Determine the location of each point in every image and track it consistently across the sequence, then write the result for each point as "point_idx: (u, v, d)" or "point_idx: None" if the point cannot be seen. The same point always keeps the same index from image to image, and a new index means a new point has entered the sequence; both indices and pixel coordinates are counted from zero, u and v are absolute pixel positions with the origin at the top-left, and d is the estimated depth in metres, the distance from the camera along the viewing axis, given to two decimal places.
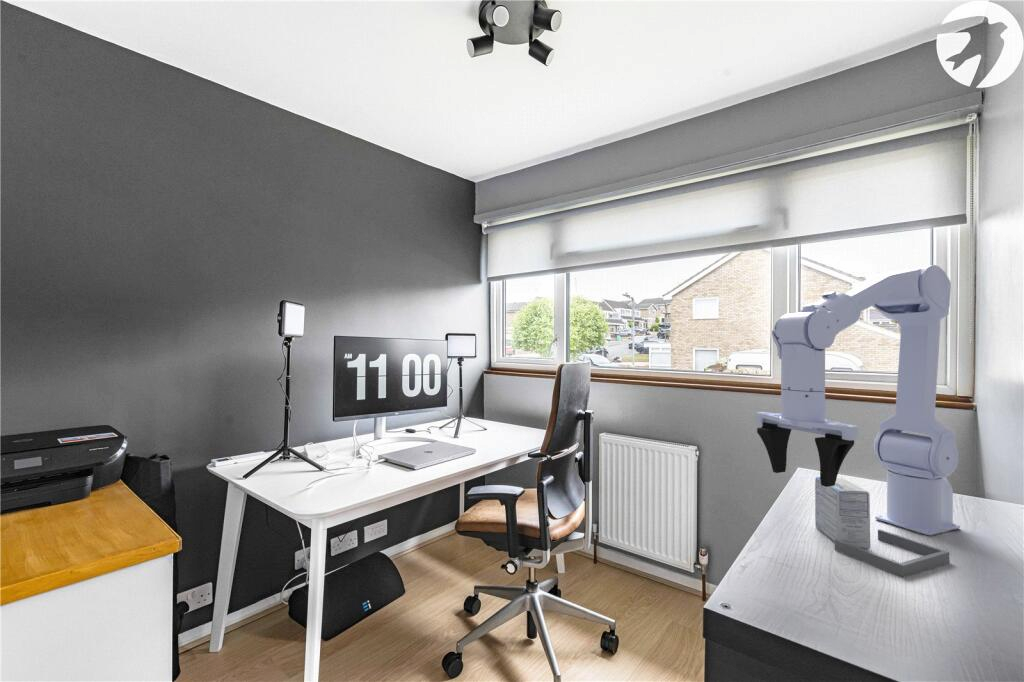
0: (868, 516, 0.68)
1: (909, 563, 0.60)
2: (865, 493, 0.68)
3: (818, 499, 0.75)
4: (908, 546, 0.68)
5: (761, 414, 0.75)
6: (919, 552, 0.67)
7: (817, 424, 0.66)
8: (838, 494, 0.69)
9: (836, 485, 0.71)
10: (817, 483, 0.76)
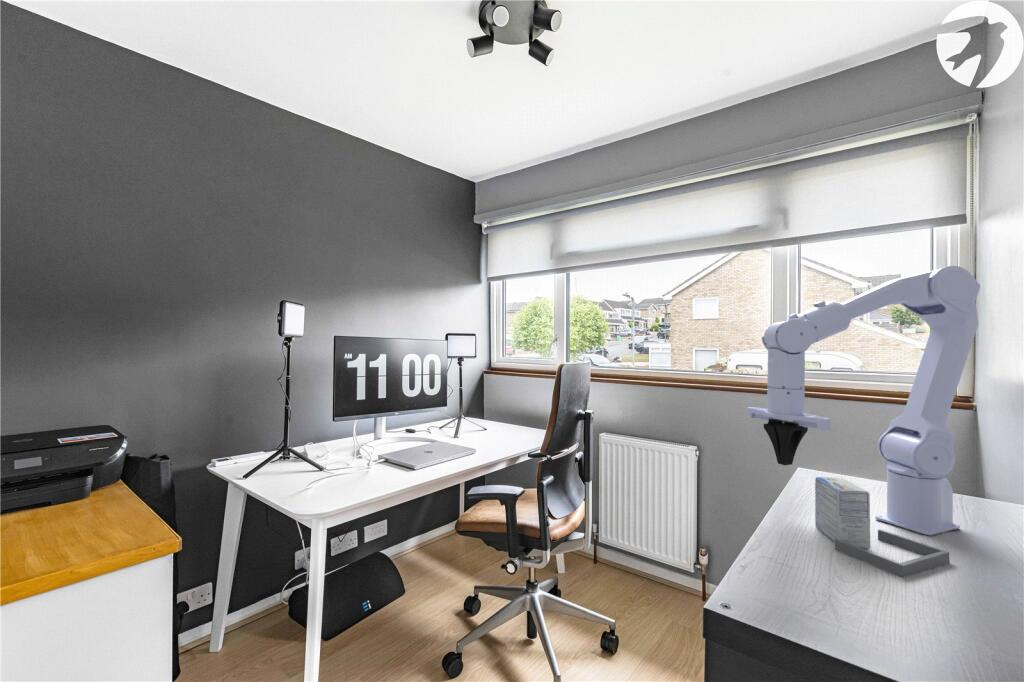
0: (868, 516, 0.68)
1: (909, 563, 0.60)
2: (865, 493, 0.68)
3: (818, 499, 0.75)
4: (908, 546, 0.68)
5: (750, 409, 0.86)
6: (919, 552, 0.67)
7: (797, 417, 0.77)
8: (838, 494, 0.69)
9: (836, 485, 0.71)
10: (817, 483, 0.76)
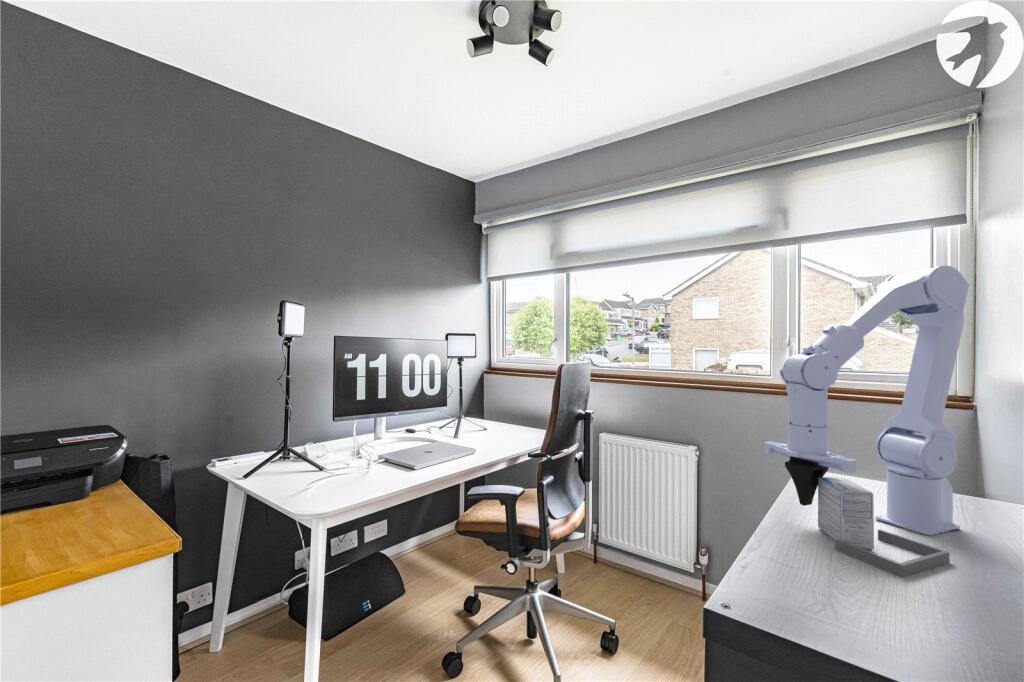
0: (872, 517, 0.67)
1: (909, 563, 0.60)
2: (869, 494, 0.68)
3: (821, 499, 0.75)
4: (908, 546, 0.68)
5: (769, 444, 0.83)
6: (919, 552, 0.67)
7: (819, 457, 0.73)
8: (842, 495, 0.68)
9: (839, 485, 0.71)
10: (820, 483, 0.75)
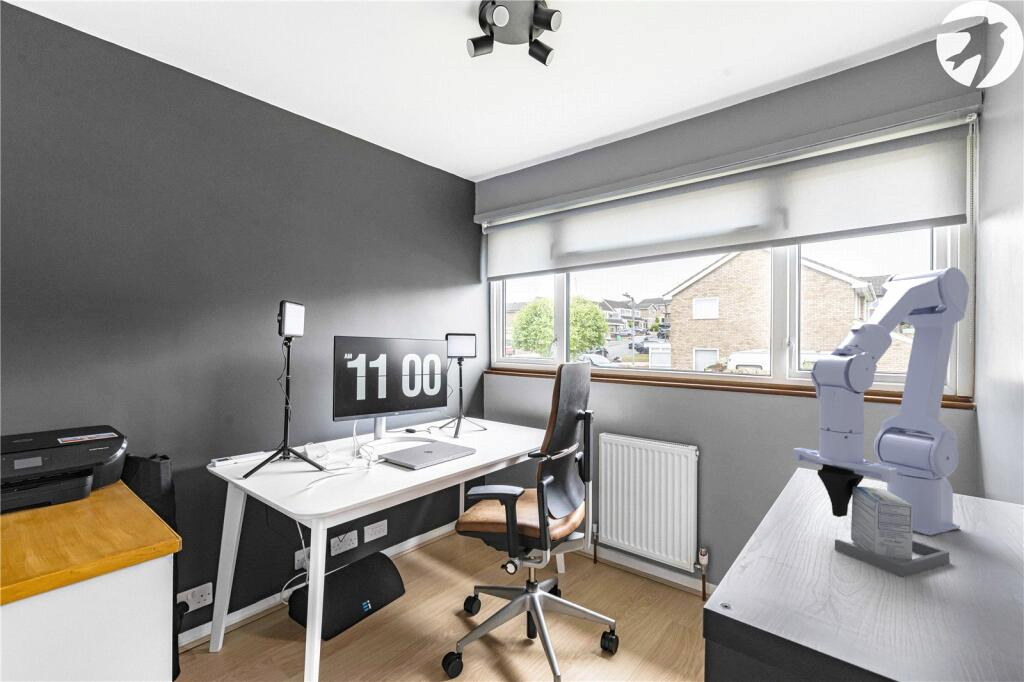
0: (910, 531, 0.62)
1: (909, 563, 0.60)
2: (908, 506, 0.63)
3: (855, 510, 0.70)
4: None
5: (798, 450, 0.78)
6: (919, 552, 0.67)
7: (857, 465, 0.68)
8: (877, 506, 0.63)
9: (875, 496, 0.66)
10: (854, 492, 0.70)
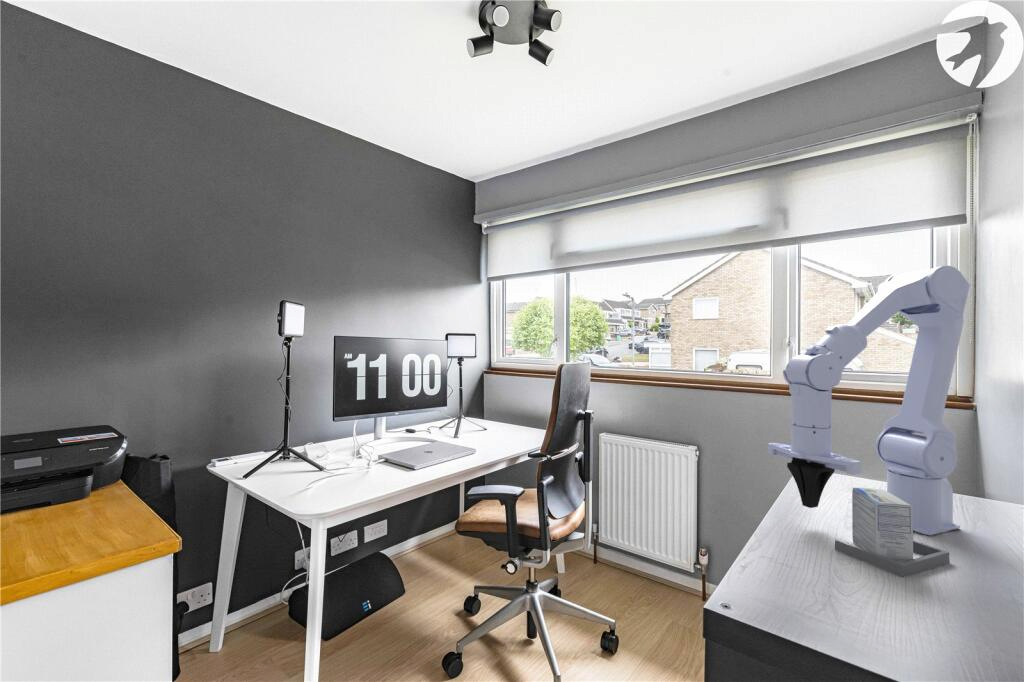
0: (911, 532, 0.62)
1: (909, 563, 0.60)
2: (907, 507, 0.62)
3: (855, 511, 0.69)
4: None
5: (772, 445, 0.82)
6: (919, 552, 0.67)
7: (824, 458, 0.73)
8: (876, 507, 0.63)
9: (875, 497, 0.66)
10: (854, 494, 0.70)
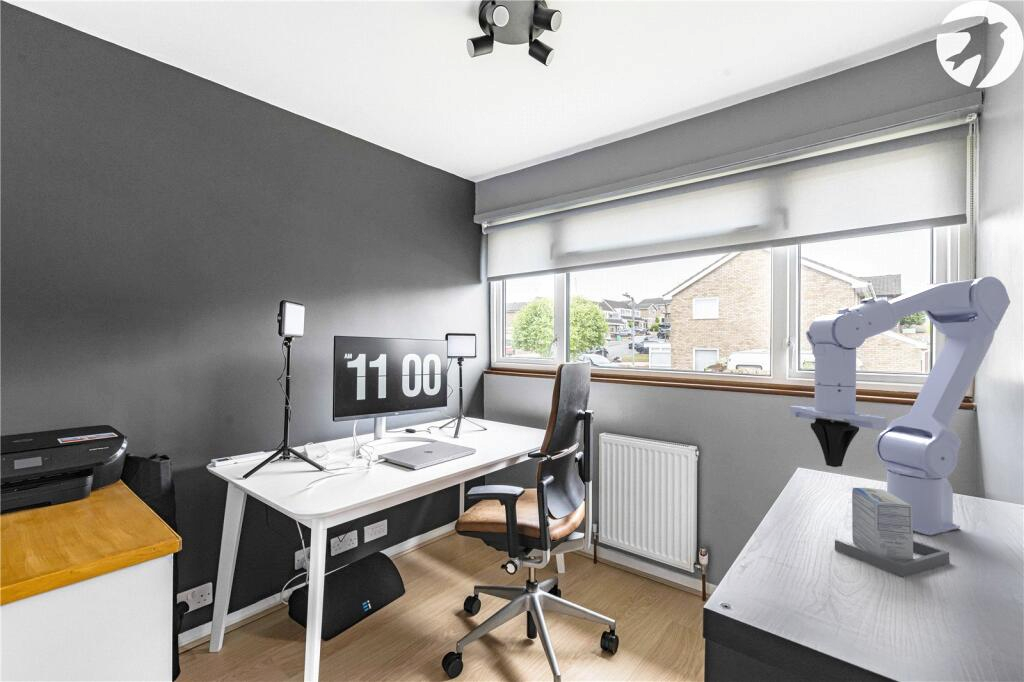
0: (911, 532, 0.62)
1: (909, 563, 0.60)
2: (907, 507, 0.62)
3: (855, 511, 0.69)
4: None
5: (795, 407, 0.82)
6: (919, 552, 0.67)
7: (849, 416, 0.73)
8: (876, 507, 0.63)
9: (875, 497, 0.66)
10: (854, 494, 0.70)
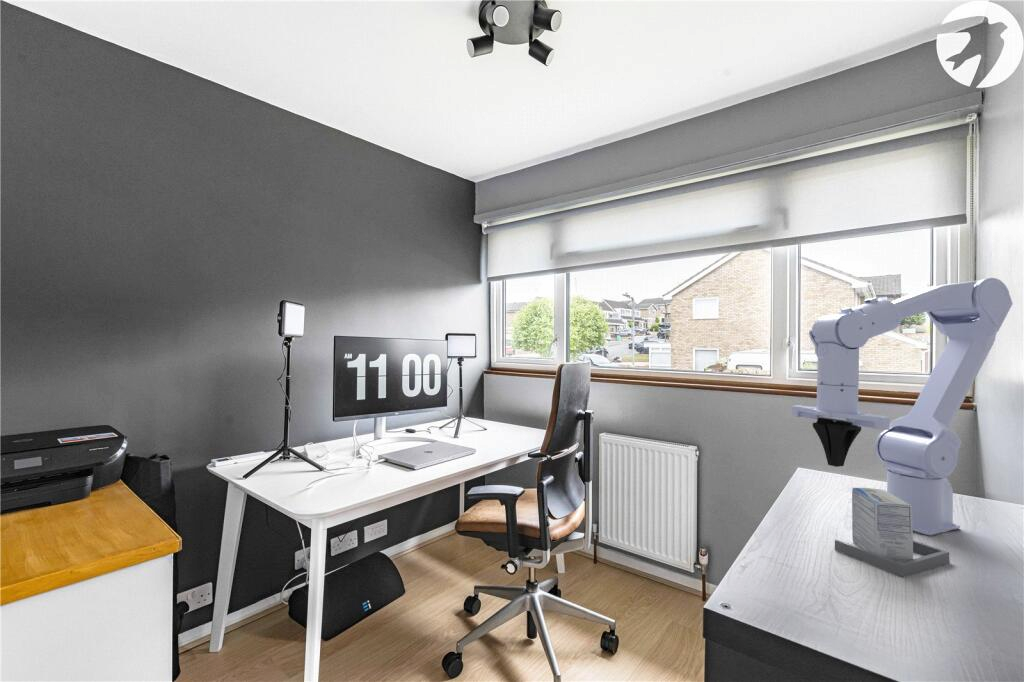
0: (911, 532, 0.62)
1: (909, 563, 0.60)
2: (907, 506, 0.62)
3: (855, 511, 0.69)
4: None
5: (797, 407, 0.82)
6: (919, 552, 0.67)
7: (852, 415, 0.73)
8: (876, 507, 0.63)
9: (874, 497, 0.66)
10: (854, 494, 0.70)
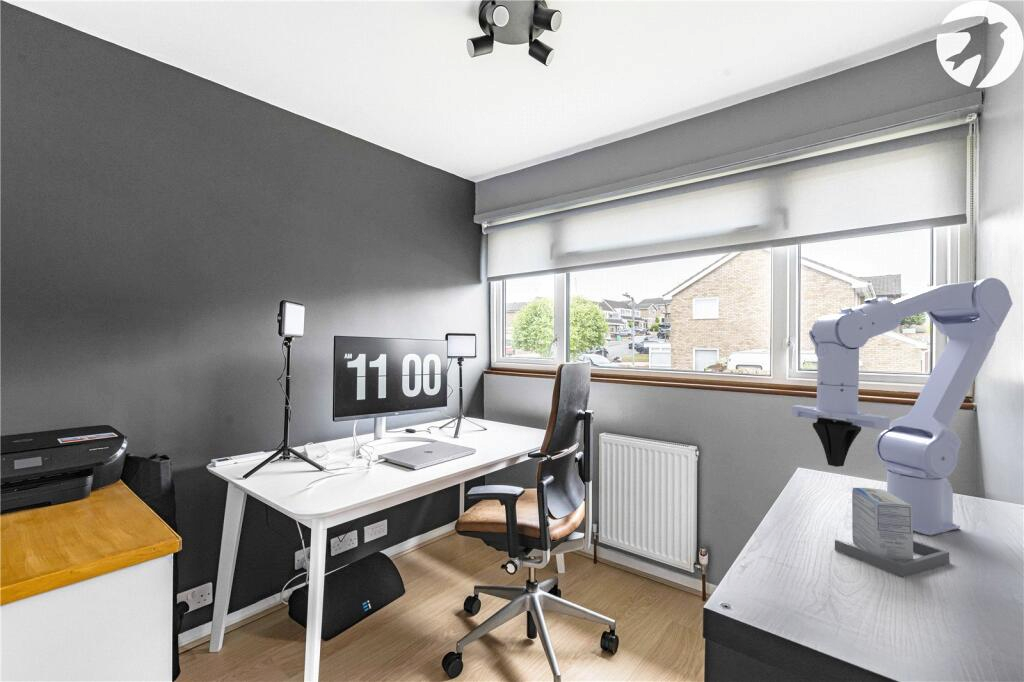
0: (911, 532, 0.62)
1: (909, 563, 0.60)
2: (907, 507, 0.62)
3: (855, 511, 0.69)
4: None
5: (797, 407, 0.82)
6: (919, 552, 0.67)
7: (852, 415, 0.73)
8: (876, 507, 0.63)
9: (875, 497, 0.66)
10: (854, 494, 0.70)
